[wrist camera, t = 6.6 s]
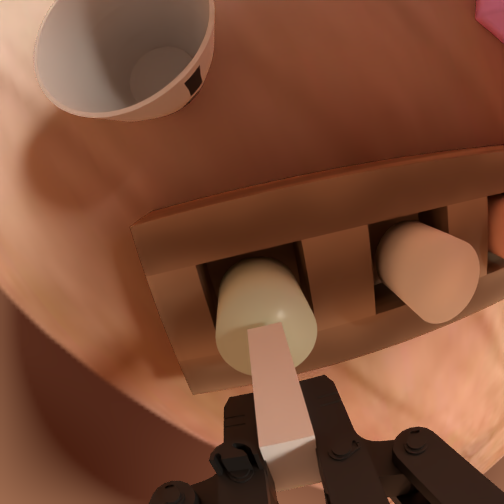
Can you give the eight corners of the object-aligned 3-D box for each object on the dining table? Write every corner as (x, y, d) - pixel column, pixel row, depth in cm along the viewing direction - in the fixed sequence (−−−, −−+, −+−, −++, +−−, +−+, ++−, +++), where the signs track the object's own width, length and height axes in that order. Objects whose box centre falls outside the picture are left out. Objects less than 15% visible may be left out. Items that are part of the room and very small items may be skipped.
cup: (215, 135, 20) (203, 116, 11) (103, 134, 20) (21, 125, 10) (227, 28, 18) (225, -51, 9) (116, 31, 18) (56, -29, 8)
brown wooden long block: (150, 211, 22) (129, 226, 17) (508, 144, 21) (545, 147, 17) (198, 355, 25) (192, 394, 20) (511, 261, 25) (542, 278, 20)
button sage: (209, 266, 19) (202, 303, 14) (289, 247, 19) (309, 278, 14) (229, 335, 20) (230, 384, 15) (303, 318, 20) (322, 363, 15)
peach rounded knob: (371, 228, 19) (411, 251, 14) (432, 213, 19) (480, 231, 14) (377, 297, 20) (412, 334, 15) (435, 279, 20) (476, 308, 15)
